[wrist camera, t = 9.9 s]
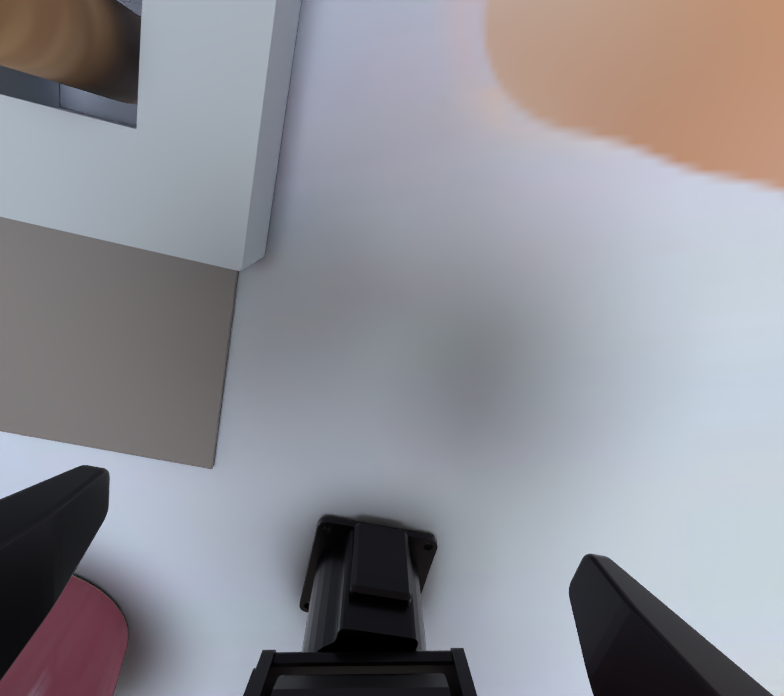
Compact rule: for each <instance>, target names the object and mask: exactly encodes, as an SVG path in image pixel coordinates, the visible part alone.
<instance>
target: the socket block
mask: <svg viewBox="0 0 784 696" xmlns="http://www.w3.org/2000/svg"><path fill="white" fill-rule="evenodd" d="M301 1H302V0H142V14H141V37H140V59H139V82H138V105H137V127H135V126H131V125H127V124H123V123H119V122H115V121H111V120H107V119H104V118H100V117H96V116H92V115H88V114H84V113H80V112H76V111H72V110H68V109H64V108H61V107H60V94H59V83H58V82H54V81H51V80H48V79H44V78H41V77H38V76H34V75H31V74H28V73H25V72H21V71H18V70H15V69H11V68H8V67H5V66H1V65H0V217H4V218H8V219H13V220H17V221H21V222H26V223H30V224H35V225H39V226H43V227H48V228H52V229H57V230H61V231H65V232H70V233H74V234H79V235H83V236H87V237H92V238H96V239H101V240H105V241H109V242H114V243H118V244H122V245H127V246H131V247H136V248H140V249H144V250H149V251H153V252H158V253H162V254H166V255H171V256H175V257H180V258H184V259H188V260H193V261H197V262H202V263H206V264H210V265H215V266H219V267H223V268H228V269H232V270H237V271H243V270H244V269H246V268H247V267H249V266H250V265H252V264H253V263H255V262H256V261H258V260H259V259H261V258H262V257H264V256H265V250H266V243H267V236H268V229H269V222H270V215H271V209H272V202H273V195H274V188H275V181H276V174H277V167H278V160H279V153H280V146H281V139H282V132H283V126H284V119H285V112H286V105H287V98H288V91H289V84H290V77H291V70H292V63H293V56H294V50H295V43H296V36H297V29H298V22H299V15H300V8H301Z"/></svg>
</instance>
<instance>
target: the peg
mask: <svg viewBox="0 0 784 696" xmlns="http://www.w3.org/2000/svg"><path fill="white" fill-rule="evenodd" d="M140 37H141V17H140V16H138V15H137V14H135V13H134V12H133V11H131V10H130V9H128V8H127V7H125V6H124V5H122V4H121V3H119V2H118V1H116V0H0V65H1V66H5V67H8V68H11V69H15V70H18V71H21V72H25V73H28V74H31V75H34V76H38V77H41V78H44V79H48V80H51V81H54V82H58V83H61V84H64V85H67V86H71V87H74V88H77V89H81V90H84V91H87V92H90V93H94V94H97V95H100V96H104V97H107V98H110V99H114V100H117V101H120V102H124V103H130V104H135V103H138V82H139V59H140Z"/></svg>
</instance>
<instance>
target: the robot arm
mask: <svg viewBox="0 0 784 696" xmlns="http://www.w3.org/2000/svg"><path fill="white" fill-rule="evenodd" d="M109 481H110V476H109V472H108V471H107V470H106V469H104V468H99V467H93V466H88V465H83V466H79V467H76V468H74V469H72V470H69V471H67V472H64V473H62V474H60V475H57V476H55V477H52V478H50V479H48V480H45V481H43V482H41V483H38V484H36V485H33V486H31V487H29V488H26V489H24V490H21V491H19V492H17V493H14V494H12V495H9V496H7V497H5V498H2V499H0V681H1V680H2V678H3V677H4V675H5V674H6V673H7V671H8V670H9V668H10V667H11V666H12V664H13V663H14V662H15V660H16V659H17V657H18V656H19V655H20V653H21V652H22V650H23V649H24V648H25V646H26V645H27V643H28V642H29V641H30V639H31V638H32V636H33V635H34V634H35V632H36V631H37V630H38V628H39V627H40V625H41V624H42V623H43V621H44V620H45V618H46V617H47V615H48V614H49V612H50V611H51V610H52V608H53V607H54V605H55V603H56V602H57V600H58V599H59V597H60V595H61V594H62V592H63V590H64V589H65V587H66V585H67V583H68V582H69V580H70V578H71V577H72V575H73V573H74V571H75V570H76V568H77V566H78V565H79V563H80V561H81V559H82V558H83V556H84V554H85V552H86V551H87V549H88V547H89V546H90V544H91V542H92V540H93V539H94V537H95V535H96V534H97V532H98V530H99V528H100V527H101V525H102V523H103V521H104V520H105V517H106V515H107V512H108V507H109ZM324 526H329V527H330V528H325V527H324ZM426 543H430V544H429V545H425V544H426ZM436 550H437V541H436V538H435V537H434V536H433V535H431V534H426V533H420V532H414V531H408V530H403V529H397V528H391V527H385V526H379V525H374V524H368V523H362V522H356V521H350V520H345V519H339V518H333V517H323V518H321V519H320V520H319V522H318V526H317V530H316V534H315V539H314V543H313V547H312V551H311V556H310V560H309V564H308V569H307V573H306V577H305V582H304V586H303V590H302V595H301V599H300V608H301V610H303V611H305V612H308V618H307V624H306V630H305V636H304V643H303V649H302V652H276V650H263V651H262V653H261V656H260V659H259V661H258V664H257V667H256V668H254V669H253V671H252V674H251V676H250V679H249V682H248V684H247V687H246V690H245V692H244V695H243V696H477V694H476V690H475V687H474V683H473V680H472V677H471V673H470V670H469V666H468V663H467V659H466V656H465V652H464V649H463V648H451V650H450V651H426V642H425V632H424V623H423V613H422V603H421V592H422V590H423V587H424V584H425V581H426V578H427V575H428V573H429V570H430V567H431V564H432V561H433V558H434V555H435V553H436ZM569 597H570V602H571V606H572V611H573V615H574V619H575V624H576V628H577V632H578V636H579V641H580V645H581V649H582V654H583V658H584V662H585V667H586V670H587V674H588V678H589V682H590V685H591V689H592V692H593V695H594V696H773V695H772V694H771V693H770V692H768V691H767V690H766V689H765V688H764V687H762V686H761V685H760V684H759V683H758V682H756V681H755V680H754V679H753V678H752V677H750V676H749V675H748V674H747V673H746V672H745V671H743V670H742V669H741V668H740V667H739V666H737V665H736V664H735V663H734V662H733V661H731V660H730V659H729V658H728V657H727V656H725V655H724V654H723V653H722V652H721V651H719V650H718V649H717V648H716V647H715V646H714V645H712V644H711V643H710V642H709V641H708V640H706V639H705V638H704V637H703V636H702V635H700V634H699V633H698V632H697V631H696V630H694V629H693V628H692V627H691V626H690V625H689V624H687V623H686V622H685V621H684V620H683V619H681V618H680V617H679V616H678V615H677V614H675V613H674V612H673V611H672V610H671V609H669V608H668V607H667V606H666V605H665V604H664V603H662V602H661V601H660V600H659V599H658V598H656V597H655V596H654V595H653V594H652V593H650V592H649V591H648V590H647V589H646V588H644V587H643V586H642V585H641V584H640V583H639V582H637V581H636V580H635V579H634V578H633V577H631V576H630V575H629V574H628V573H627V572H625V571H624V570H623V569H622V568H621V567H619V566H618V565H617V564H616V563H615V562H613V561H612V560H611V559H610V558H608V557H605V556H600V555H595V554H587V555H585V556H584V557H583V559H582V561H581V563H580V565H579V567H578V569H577V571H576V573H575V575H574V577H573V579H572V581H571V583H570V587H569ZM308 602H309V603H308Z"/></svg>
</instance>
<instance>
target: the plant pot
mask: <svg viewBox="0 0 784 696" xmlns="http://www.w3.org/2000/svg"><path fill="white" fill-rule="evenodd" d="M127 645H128V628H127V623H126V621H125V618H124V616H123V614H122V612H121V611H120V610H119V608H118V607H117V606H116V604H115V603H114V602H113V601H112V600H111V599H110V598H109V597H108V596H107V595H106V594H104V593H103V592H102V591H101V590H99V589H98V588H96V587H95V586H93V585H91V584H90V583H88V582H86V581H84V580H82V579H80V578H78V577H75V576H73V575H72V577H71V578H70V580H69V582H68V583H67V585H66V587H65V589H64V590H63V592H62V594H61V595H60V597H59V599H58V600H57V602H56V603H55V605H54V607H53V608H52V610H51V611H50V612H49V614H48V615H47V617H46V618H45V620H44V621H43V623H42V624H41V625H40V627H39V628H38V630H37V631H36V632H35V634H34V635H33V636H32V638H31V639H30V641H29V642H28V643H27V645H26V646H25V648H24V649H23V650H22V652H21V653H20V655H19V656H18V657H17V659H16V660H15V662H14V663H13V664H12V666H11V667H10V668H9V670H8V671H7V673H6V674H5V675H4V677H3V678H2V680H1V681H0V696H113V694H114V690H115V686H116V683H117V679H118V676H119V672H120V669H121V665H122V662H123V659H124V655H125V652H126V649H127Z"/></svg>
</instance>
